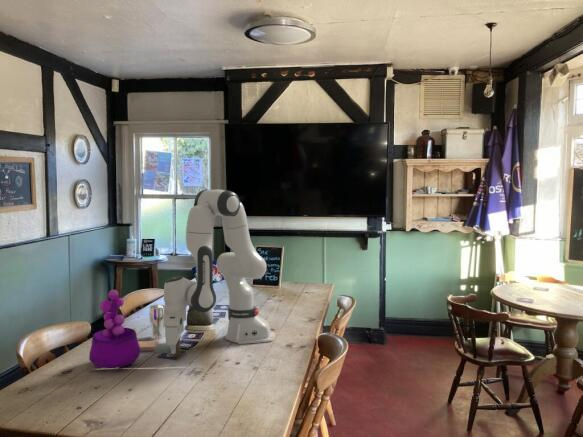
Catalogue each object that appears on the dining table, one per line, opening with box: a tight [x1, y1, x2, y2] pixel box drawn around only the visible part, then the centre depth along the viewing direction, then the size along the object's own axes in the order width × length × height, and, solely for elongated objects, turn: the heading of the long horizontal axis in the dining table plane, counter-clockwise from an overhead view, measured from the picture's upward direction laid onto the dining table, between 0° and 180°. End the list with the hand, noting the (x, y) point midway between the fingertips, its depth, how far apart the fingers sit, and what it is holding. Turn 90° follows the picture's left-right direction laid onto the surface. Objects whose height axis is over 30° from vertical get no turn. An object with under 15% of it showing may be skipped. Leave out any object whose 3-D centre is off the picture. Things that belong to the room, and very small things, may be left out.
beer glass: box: [148, 304, 166, 341], centre depth 218 cm, size 7×7×15 cm
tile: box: [138, 340, 159, 351], centre depth 205 cm, size 2×7×9 cm
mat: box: [140, 342, 171, 355], centre depth 205 cm, size 18×12×1 cm, turn 93°
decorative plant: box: [88, 289, 141, 369], centre depth 188 cm, size 19×18×30 cm
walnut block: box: [170, 338, 181, 358], centre depth 198 cm, size 3×3×8 cm
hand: (175, 348), depth 198 cm, fingers open, 8 cm apart
